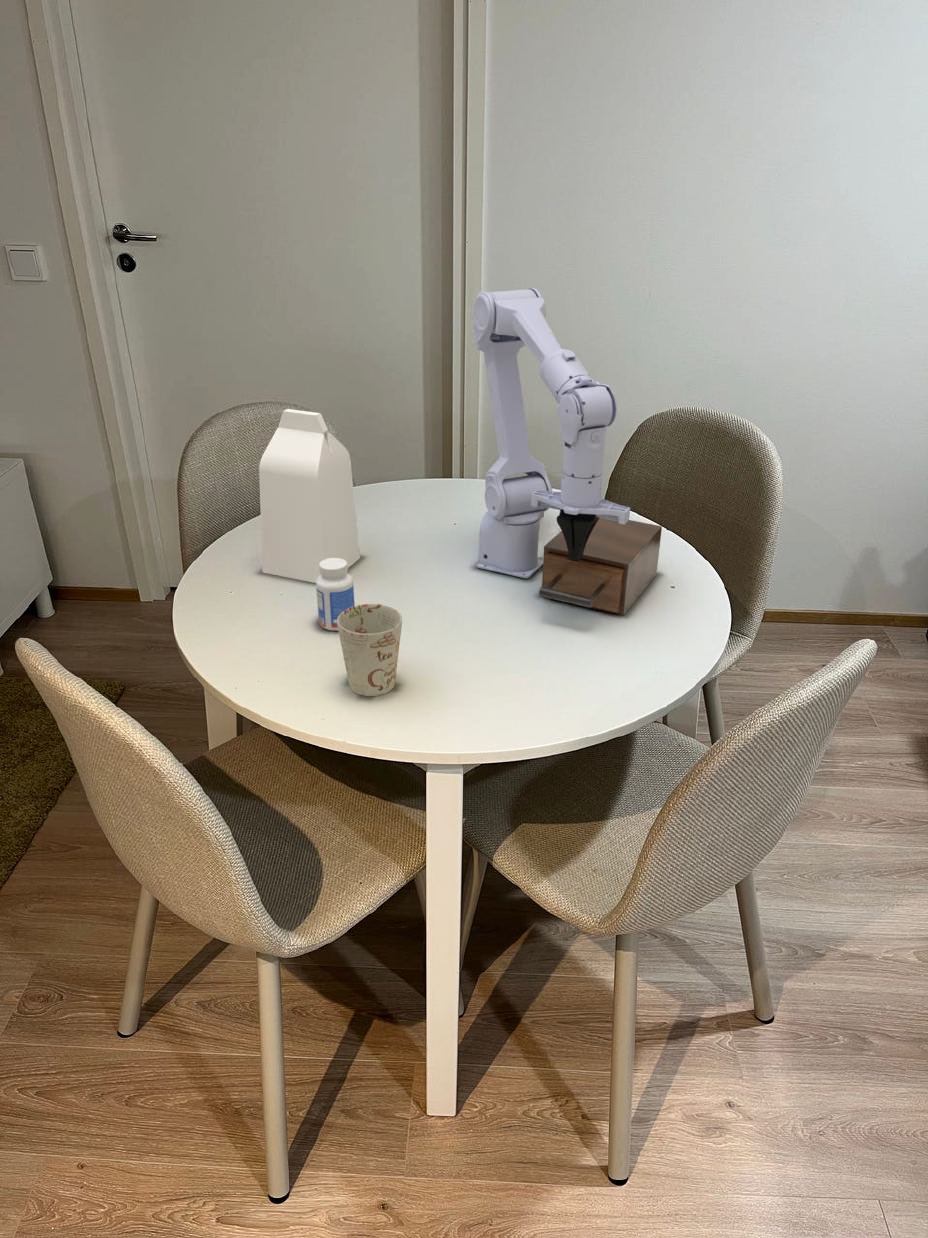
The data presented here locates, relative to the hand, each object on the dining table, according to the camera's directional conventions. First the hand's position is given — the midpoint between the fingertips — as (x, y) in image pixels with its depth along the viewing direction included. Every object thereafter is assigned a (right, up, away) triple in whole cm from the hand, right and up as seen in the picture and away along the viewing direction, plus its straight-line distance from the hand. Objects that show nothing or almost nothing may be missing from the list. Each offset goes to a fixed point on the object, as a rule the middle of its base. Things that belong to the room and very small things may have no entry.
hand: (575, 558), depth 146 cm
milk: (-42, 0, +18) cm, 46 cm away
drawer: (+3, -5, +8) cm, 10 cm away
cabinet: (+5, -3, +13) cm, 14 cm away
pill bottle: (-35, -10, 0) cm, 37 cm away
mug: (-30, -17, -13) cm, 37 cm away
